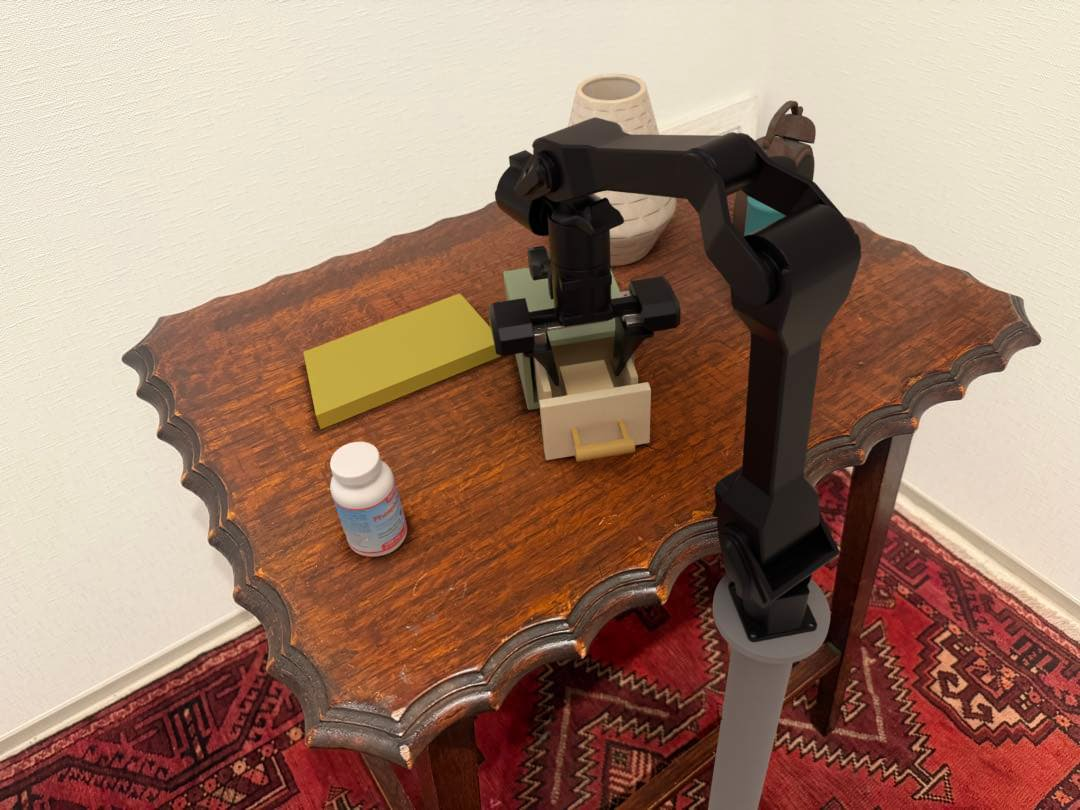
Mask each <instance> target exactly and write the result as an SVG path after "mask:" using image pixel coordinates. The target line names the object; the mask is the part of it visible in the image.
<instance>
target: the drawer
mask: <svg viewBox="0 0 1080 810" xmlns="http://www.w3.org/2000/svg"><path fill="white" fill-rule="evenodd" d="M551 347H552V351H553V355H554V359H555V363H556V367H557V371H558V375H559V386H555V384H554V383H553V381H552V379H551V378H550V376H549V374H548V373H547V371H546V370H545V368H544V367H543V366H542V365H541V364H540V363H539V362H538V361H537V360H536V359H535V358H534V357H531V367H532V377H533V381H534V385H535V389H536V393H537V397H538V401H539V405H540V408H539V413H540V422H541V430H542V431H541V433H542V443H543V444H542V445H543V454H544V457H545V460H546V461H551V460H556V459H563V458H567V457H568V458H569V457H575V461H576V463H580V462H586V461H591V460H597V459H603V458H610V457H615V456H620V455H627V454H632V453H636V446H640V445H645V444H650V442H651V404H652V403H651V399H652V389H651V386H650V383H649V382H648V381H647V382H640V383H639V375H638V372H637V369H636V367H634V364H633V362H632V359H631V358H630V359H629V361H628V362H627V364H626V365H625V367H624V369H623V370H622V372H621V373H620V375H619V376H615V374H614V371H613V348H614V336H613V337H607V338H601V339H595V340H588V341H582V342H576V343H570V344H563V345H557V346H551ZM599 360H605V363H606V366H607V369H608V372H609V375H610V378H611V380H612V383H613V386H614V388H609V389H603V390H597V391H591V392H585V393H579V394H573V395H567V396H562V394H561V380H560V367H562V366H568V365H574V364H580V363H587V362H593V361H599Z"/></svg>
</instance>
